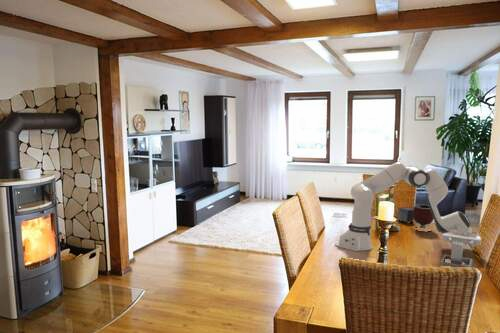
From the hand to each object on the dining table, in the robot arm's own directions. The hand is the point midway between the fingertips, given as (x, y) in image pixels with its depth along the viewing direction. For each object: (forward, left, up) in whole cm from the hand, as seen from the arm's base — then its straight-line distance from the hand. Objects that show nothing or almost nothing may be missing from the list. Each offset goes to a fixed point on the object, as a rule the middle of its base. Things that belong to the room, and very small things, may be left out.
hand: (460, 242), depth 223 cm
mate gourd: (-29, +53, -10) cm, 61 cm away
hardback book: (-54, +46, -10) cm, 72 cm away
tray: (0, -14, -10) cm, 17 cm away
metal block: (0, -14, -9) cm, 16 cm away
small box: (-44, +71, -10) cm, 84 cm away
